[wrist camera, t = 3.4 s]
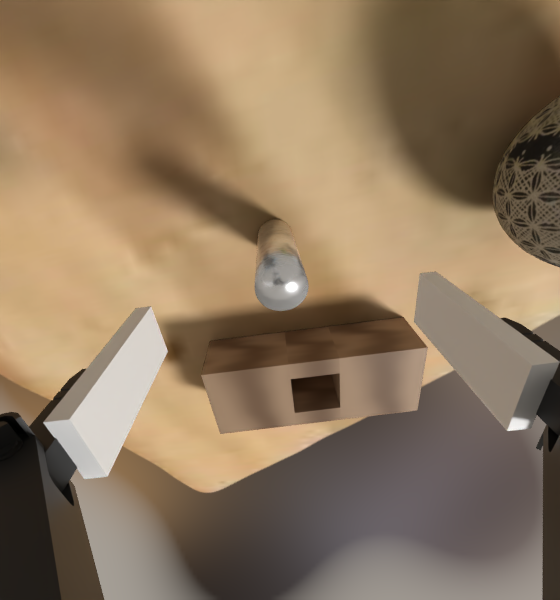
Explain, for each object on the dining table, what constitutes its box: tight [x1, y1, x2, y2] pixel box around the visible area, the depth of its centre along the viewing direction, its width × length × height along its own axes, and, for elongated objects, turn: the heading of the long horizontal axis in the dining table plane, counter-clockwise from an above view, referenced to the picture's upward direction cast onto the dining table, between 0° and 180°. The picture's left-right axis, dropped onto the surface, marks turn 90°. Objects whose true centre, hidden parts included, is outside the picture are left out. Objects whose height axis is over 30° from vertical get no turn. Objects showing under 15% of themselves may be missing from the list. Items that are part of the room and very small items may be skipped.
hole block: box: [201, 317, 428, 434], centre depth 29 cm, size 20×8×5 cm, turn 97°
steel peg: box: [255, 219, 308, 311], centre depth 21 cm, size 3×3×10 cm
